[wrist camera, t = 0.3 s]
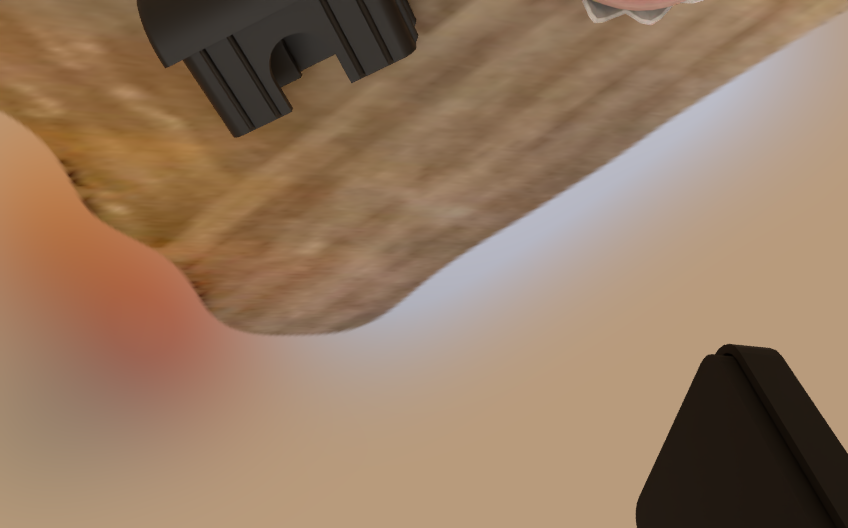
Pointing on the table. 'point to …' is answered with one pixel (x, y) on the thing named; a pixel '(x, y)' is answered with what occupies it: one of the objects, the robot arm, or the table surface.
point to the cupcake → (630, 9)
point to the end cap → (273, 46)
